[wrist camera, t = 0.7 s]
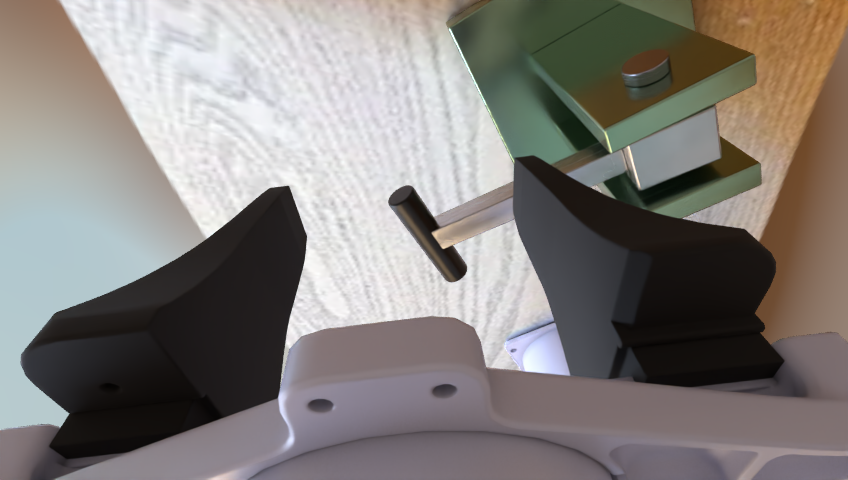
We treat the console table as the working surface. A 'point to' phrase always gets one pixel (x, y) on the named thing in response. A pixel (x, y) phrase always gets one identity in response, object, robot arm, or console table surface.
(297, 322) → the console table surface
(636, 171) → the lever
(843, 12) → the console table surface
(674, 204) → the bracket
